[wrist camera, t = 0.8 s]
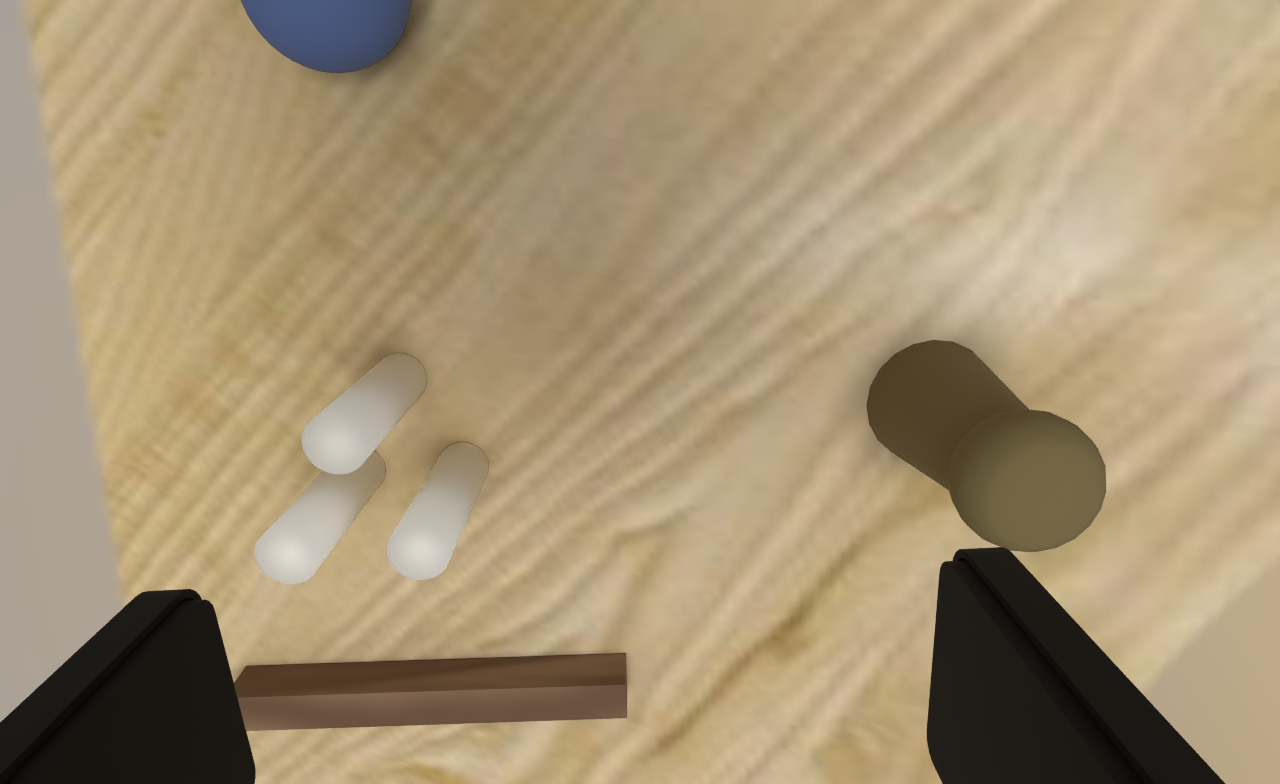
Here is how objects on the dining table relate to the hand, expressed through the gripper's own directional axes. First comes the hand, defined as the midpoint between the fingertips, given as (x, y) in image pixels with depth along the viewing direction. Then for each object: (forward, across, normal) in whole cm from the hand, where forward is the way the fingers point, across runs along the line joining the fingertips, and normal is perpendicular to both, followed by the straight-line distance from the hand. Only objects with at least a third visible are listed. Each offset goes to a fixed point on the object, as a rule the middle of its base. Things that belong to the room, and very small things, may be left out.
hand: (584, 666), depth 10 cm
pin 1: (+26, +13, +8) cm, 30 cm away
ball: (+24, +10, -12) cm, 28 cm away
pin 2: (+26, +8, +8) cm, 29 cm away
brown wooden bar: (+26, +11, +20) cm, 35 cm away
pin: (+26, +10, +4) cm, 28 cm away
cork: (+27, -15, +6) cm, 31 cm away
